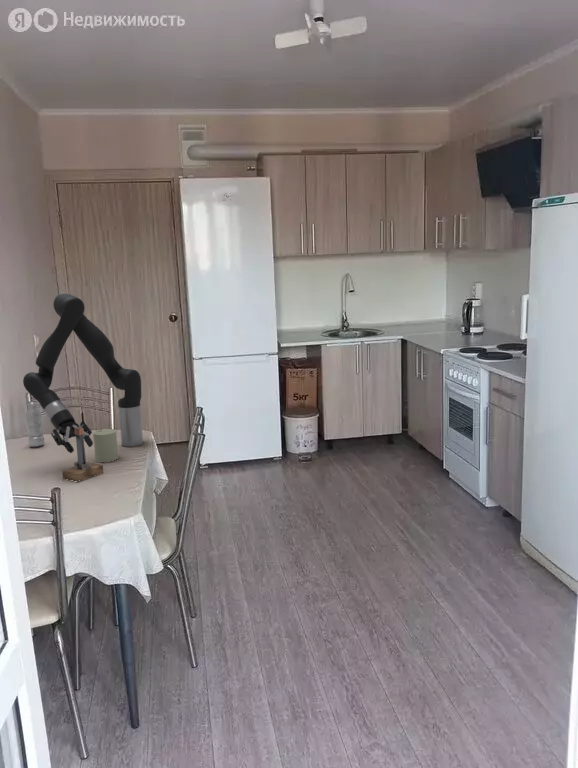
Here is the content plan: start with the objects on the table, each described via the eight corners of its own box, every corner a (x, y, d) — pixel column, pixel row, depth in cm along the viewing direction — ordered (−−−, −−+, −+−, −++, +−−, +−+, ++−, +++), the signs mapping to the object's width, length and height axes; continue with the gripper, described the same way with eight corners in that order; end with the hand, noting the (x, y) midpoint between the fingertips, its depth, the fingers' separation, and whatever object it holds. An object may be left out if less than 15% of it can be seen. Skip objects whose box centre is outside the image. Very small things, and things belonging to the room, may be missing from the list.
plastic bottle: (25, 448, 271) (20, 403, 268) (36, 443, 278) (31, 399, 274) (38, 449, 270) (33, 403, 266) (48, 444, 276) (43, 400, 272)
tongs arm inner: (82, 465, 234) (78, 426, 231) (87, 466, 233) (83, 427, 230) (80, 466, 234) (76, 427, 230) (85, 467, 232) (81, 428, 229)
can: (107, 454, 259) (105, 426, 257) (123, 457, 254) (121, 429, 252) (90, 460, 251) (87, 432, 249) (106, 464, 247) (103, 434, 244)
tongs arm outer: (79, 466, 233) (76, 427, 230) (84, 467, 232) (81, 428, 229) (77, 467, 232) (74, 428, 230) (82, 468, 231) (79, 428, 228)
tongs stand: (89, 469, 240) (88, 457, 239) (103, 472, 236) (102, 460, 235) (63, 478, 231) (61, 465, 230) (77, 482, 226) (75, 469, 225)
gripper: (46, 413, 227) (69, 447, 223) (78, 405, 239) (101, 437, 235) (39, 425, 231) (61, 459, 227) (71, 417, 243) (93, 449, 239)
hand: (82, 448), depth 231 cm, fingers open, 8 cm apart
